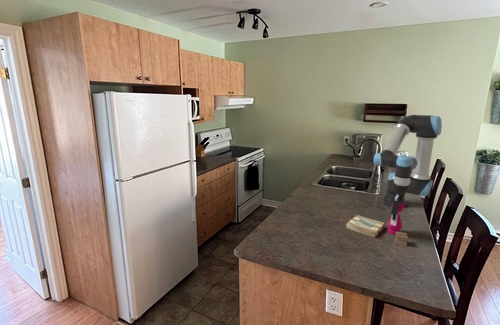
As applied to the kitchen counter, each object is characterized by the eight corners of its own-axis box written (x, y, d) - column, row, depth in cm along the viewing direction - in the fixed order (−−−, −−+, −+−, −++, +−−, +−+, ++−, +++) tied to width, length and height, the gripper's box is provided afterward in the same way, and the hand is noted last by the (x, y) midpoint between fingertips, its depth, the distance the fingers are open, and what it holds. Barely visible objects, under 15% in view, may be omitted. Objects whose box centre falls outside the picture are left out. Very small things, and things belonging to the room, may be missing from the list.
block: (394, 239, 146) (396, 231, 144) (405, 241, 144) (406, 233, 143) (395, 244, 141) (397, 235, 140) (406, 246, 139) (408, 237, 138)
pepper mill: (393, 236, 149) (398, 202, 144) (383, 230, 156) (388, 197, 151) (403, 234, 151) (409, 201, 146) (394, 228, 158) (399, 196, 153)
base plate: (356, 219, 169) (357, 214, 169) (383, 227, 159) (384, 223, 158) (346, 227, 158) (346, 223, 157) (374, 237, 147) (375, 232, 147)
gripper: (398, 178, 156) (393, 215, 162) (388, 186, 142) (382, 226, 147) (413, 181, 151) (407, 219, 157) (404, 189, 137) (397, 231, 143)
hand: (395, 222), depth 152 cm, fingers open, 7 cm apart
